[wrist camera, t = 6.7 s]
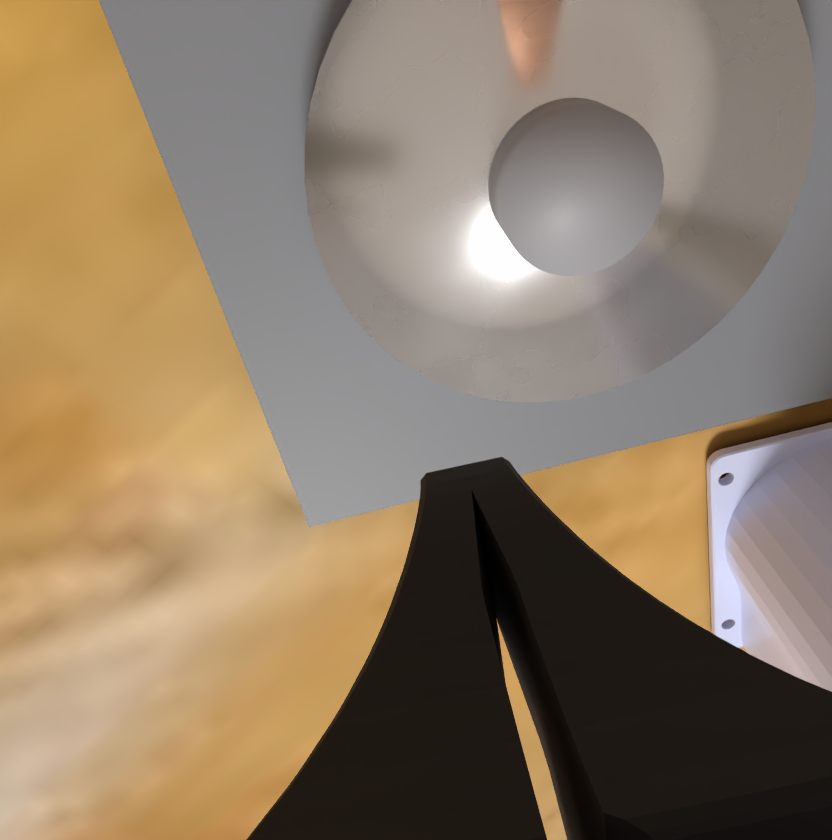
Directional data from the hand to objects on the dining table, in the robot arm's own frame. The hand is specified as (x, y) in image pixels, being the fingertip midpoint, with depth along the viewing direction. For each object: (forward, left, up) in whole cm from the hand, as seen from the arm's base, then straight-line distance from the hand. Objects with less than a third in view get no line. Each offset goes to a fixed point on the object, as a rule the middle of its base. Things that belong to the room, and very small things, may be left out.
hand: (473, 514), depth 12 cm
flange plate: (+4, -4, -9) cm, 11 cm away
